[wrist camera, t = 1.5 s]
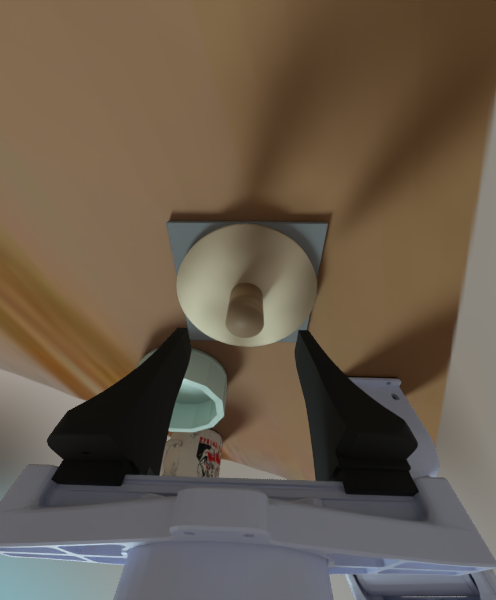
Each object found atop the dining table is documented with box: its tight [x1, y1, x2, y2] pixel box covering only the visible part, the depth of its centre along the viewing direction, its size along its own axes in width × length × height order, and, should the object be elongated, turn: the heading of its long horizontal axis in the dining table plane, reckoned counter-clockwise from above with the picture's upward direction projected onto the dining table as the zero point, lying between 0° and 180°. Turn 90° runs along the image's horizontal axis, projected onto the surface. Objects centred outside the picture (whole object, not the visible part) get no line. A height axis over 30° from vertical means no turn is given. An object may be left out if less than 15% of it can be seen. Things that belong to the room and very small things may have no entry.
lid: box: [177, 223, 317, 347], centre depth 17 cm, size 12×12×4 cm
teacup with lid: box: [160, 429, 223, 478], centre depth 30 cm, size 12×9×12 cm
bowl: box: [136, 348, 227, 432], centre depth 25 cm, size 11×11×4 cm
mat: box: [166, 221, 328, 342], centre depth 19 cm, size 12×12×1 cm
